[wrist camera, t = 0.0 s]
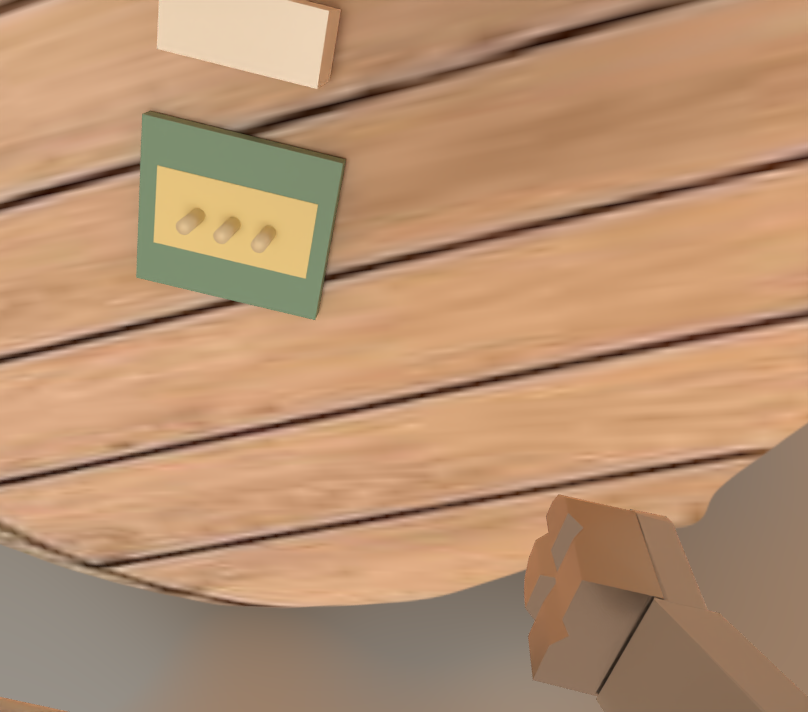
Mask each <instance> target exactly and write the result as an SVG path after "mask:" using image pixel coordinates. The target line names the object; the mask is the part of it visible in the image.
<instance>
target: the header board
mask: <svg viewBox="0 0 808 712" xmlns="http://www.w3.org/2000/svg"><path fill="white" fill-rule="evenodd" d="M345 162H346V159H342V158H338V157H334V156H330V155H326V154H322V153H318V152H314V151H310V150H306V149H302V148H298V147H294V146H290V145H286V144H282V143H278V142H274V141H269V140H265V139H261V138H257V137H253V136H249V135H245V134H241V133H237V132H233V131H229V130H225V129H221V128H217V127H213V126H209V125H205V124H201V123H197V122H193V121H189V120H185V119H180V118H176V117H172V116H168V115H164V114H160V113H156V112H152V111H149V112H146V113H143V114H142V136H141V164H140V191H139V219H138V246H137V274H136V277H137V278H141V279H145V280H149V281H153V282H158V283H162V284H166V285H170V286H174V287H179V288H183V289H187V290H191V291H195V292H200V293H204V294H208V295H212V296H216V297H221V298H225V299H229V300H233V301H237V302H242V303H246V304H250V305H254V306H258V307H263V308H267V309H271V310H275V311H279V312H284V313H288V314H292V315H296V316H300V317H305V318H309V319H313V320H315V319H316V317H317V315H318V312H319V306H320V301H321V295H322V290H323V284H324V278H325V273H326V267H327V262H328V256H329V251H330V245H331V240H332V234H333V229H334V223H335V218H336V212H337V207H338V201H339V196H340V190H341V185H342V179H343V174H344V168H345Z"/></svg>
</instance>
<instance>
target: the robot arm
mask: <svg viewBox="0 0 808 712" xmlns="http://www.w3.org/2000/svg"><path fill="white" fill-rule="evenodd" d="M546 519H547V526H548V533H547V534H545V535H544V536H542V537H540V538H539V539H537V540H536V541H535V543H534V546H533V549H532V551H531V554H530V556H529V559H528V564H527V569H526V574H525V584H524V598H525V608H526V610H527V611H528V612H529V614H530V615H531V616H532V617H533V618H534V620H535V622H534V624H533V626H532V628H531V631H530V633H529V636H528V639H529V649H530V658H531V667H532V677H533V680H535V681H539V682H543V683H547V684H551V685H555V686H559V687H563V688H567V689H571V690H575V691H579V692H583V693H587V694H591V695H595V696H597V698H596V700H597V701H598V703H599V704H600V706H601V708H602V709H603V711H604V712H808V696H807V695H806V694H805V693H804V692H803V691H801V690H800V689H799V688H798V687H797V686H796V685H795V684H794V683H793V682H792V681H791V680H790V679H789V678H788V677H787V676H786V675H785V674H784V673H783V672H781V671H780V670H779V669H778V668H777V667H776V666H775V665H774V664H773V663H772V662H771V661H770V660H769V659H768V658H767V657H766V656H764V655H763V654H762V653H761V652H760V651H759V650H758V649H757V648H756V647H755V646H754V645H753V644H752V643H751V642H750V641H748V639H746V638H745V637H744V636H743V635H742V634H741V633H740V632H739V631H738V630H737V629H736V628H735V627H734V626H732V624H731V623H730V622H728V621H727V620H726V619H725V618H724V617H723V616H722V615H721V614H720V613H718V612H713V611H710V610H708V609H707V607H706V604H705V602H704V600H703V597H702V594H701V592H700V590H699V587H698V585H697V582H696V580H695V577H694V575H693V572H692V570H691V567H690V565H689V562H688V560H687V557H686V555H685V552H684V550H683V547H682V545H681V542H680V540H679V538H678V535H677V533H676V530H675V528H674V525H673V523H672V522H671V521H670V520H669V519H668V518H667V517H666V516H661V515H656V514H651V513H647V512H642V511H637V510H632V509H630V510H626V509H621V508H617V507H613V506H608V505H604V504H599V503H595V502H590V501H586V500H581V499H577V498H573V497H568V496H564V495H559V494H558V496H557V497H556V498H555V499H554V501H553V502H552V504H551V506H550V508H549V511H548V513H547V515H546ZM0 712H67V711H63V710H58V709H53V708H49V707H44V706H40V705H35V704H30V703H26V702H21V701H17V700H12V699H7V698H2V697H0Z"/></svg>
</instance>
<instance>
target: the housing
mask: <svg viewBox="0 0 808 712" xmlns="http://www.w3.org/2000/svg"><path fill="white" fill-rule="evenodd" d="M340 13H341V9H337V8H333V7H329V6H325V5H321V4H317V3H314V2H310V1H306V0H159V11H158V33H157V49H159V50H163V51H167V52H171V53H175V54H179V55H183V56H187V57H191V58H195V59H199V60H203V61H207V62H211V63H215V64H219V65H223V66H227V67H231V68H235V69H239V70H243V71H247V72H251V73H255V74H259V75H263V76H267V77H271V78H275V79H279V80H283V81H287V82H291V83H295V84H299V85H303V86H307V87H311V88H315V89H318V88H319V87H321V86H323V85H324V84H326V83H327V82H329V81H330V76H331V69H332V63H333V57H334V51H335V44H336V38H337V32H338V26H339V20H340Z"/></svg>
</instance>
